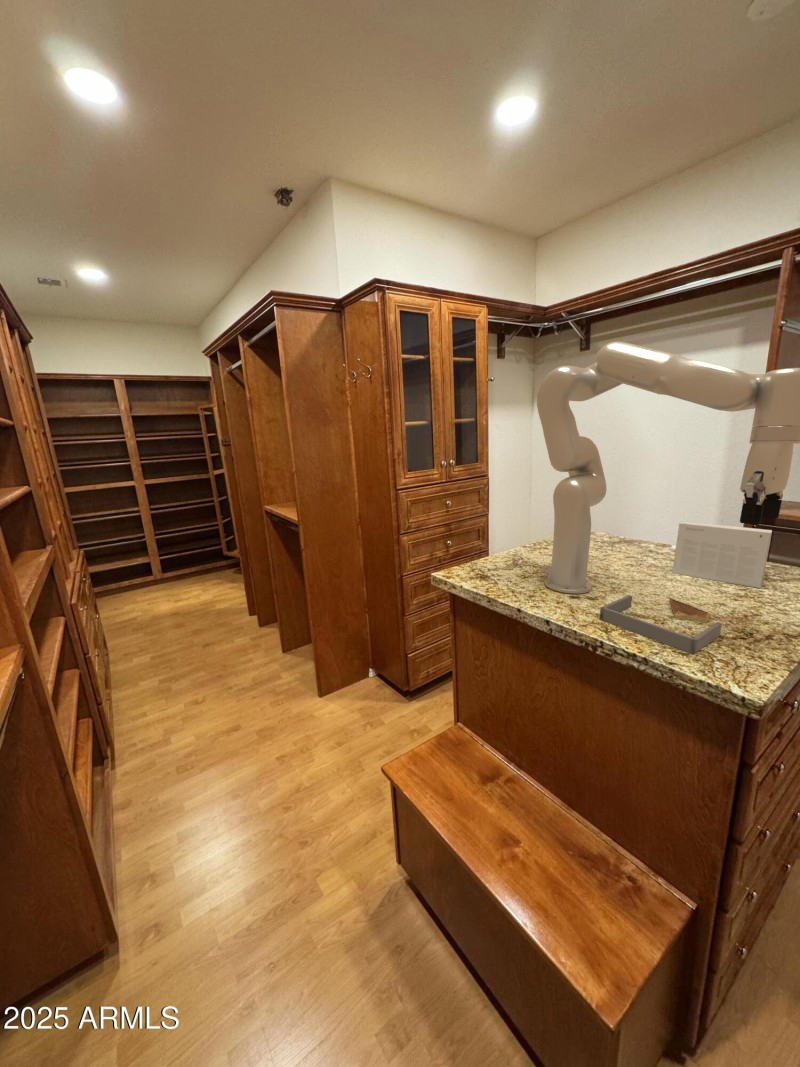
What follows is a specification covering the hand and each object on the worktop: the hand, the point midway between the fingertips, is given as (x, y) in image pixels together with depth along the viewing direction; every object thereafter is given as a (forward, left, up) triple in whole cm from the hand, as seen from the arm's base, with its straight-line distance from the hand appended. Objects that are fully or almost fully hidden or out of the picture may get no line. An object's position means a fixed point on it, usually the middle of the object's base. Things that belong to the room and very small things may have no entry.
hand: (759, 520), depth 84 cm
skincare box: (-16, +33, -25) cm, 45 cm away
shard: (-11, -1, -25) cm, 28 cm away
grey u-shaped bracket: (-11, -13, -25) cm, 30 cm away
